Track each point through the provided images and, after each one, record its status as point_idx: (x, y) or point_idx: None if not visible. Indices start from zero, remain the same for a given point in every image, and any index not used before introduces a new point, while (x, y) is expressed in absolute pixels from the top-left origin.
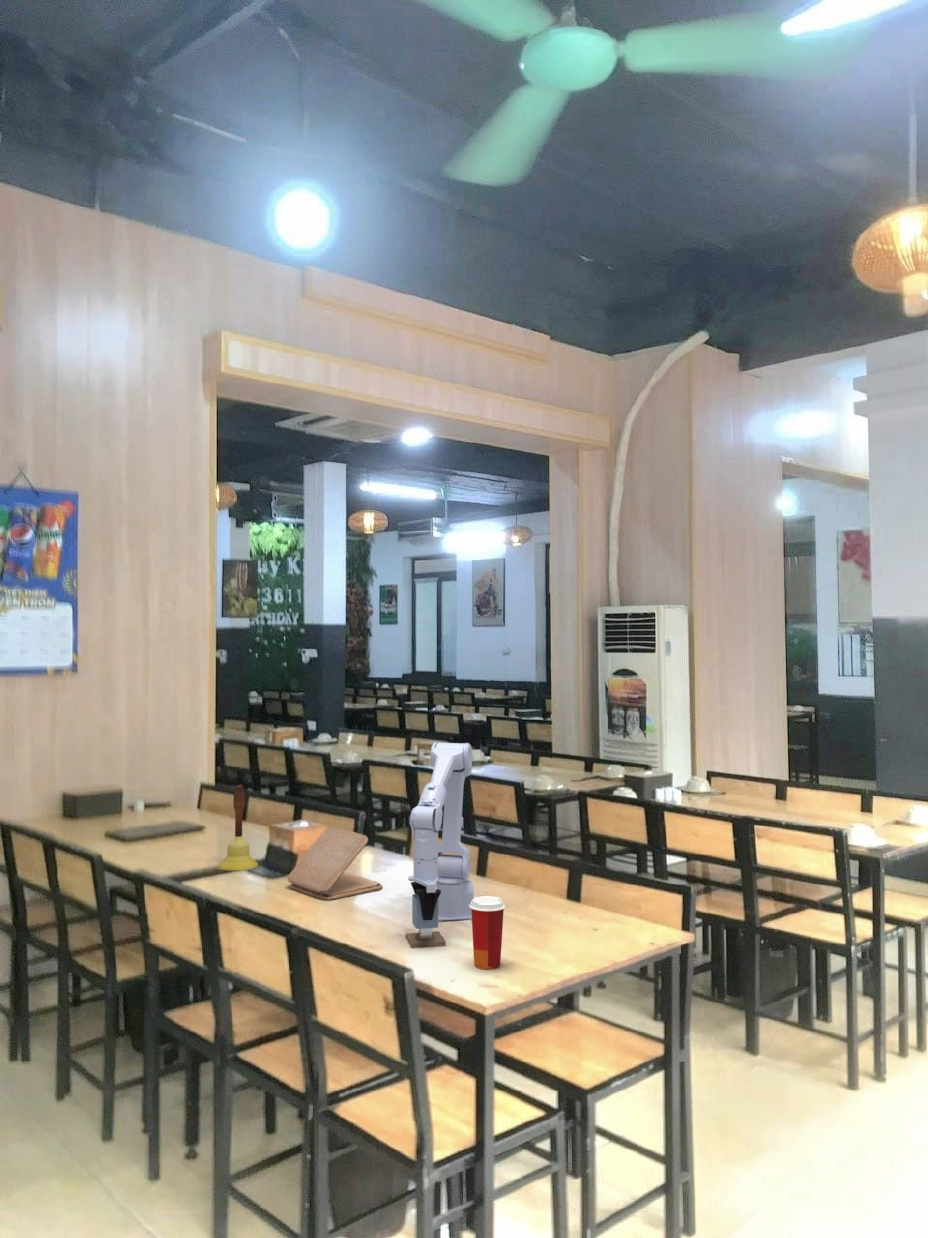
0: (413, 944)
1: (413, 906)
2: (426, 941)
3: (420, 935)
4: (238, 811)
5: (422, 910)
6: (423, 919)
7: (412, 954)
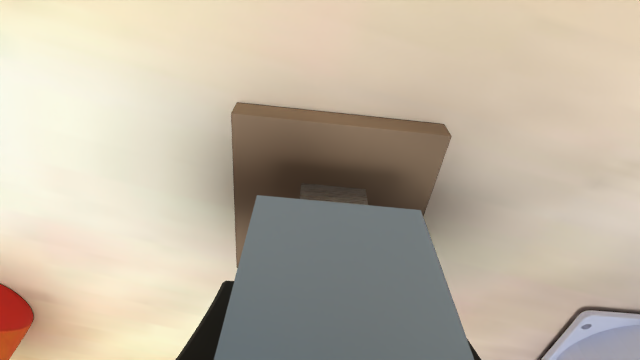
0: (233, 124)
1: (396, 325)
2: (253, 198)
3: (312, 195)
4: None
5: (180, 353)
6: (221, 286)
7: (118, 77)
